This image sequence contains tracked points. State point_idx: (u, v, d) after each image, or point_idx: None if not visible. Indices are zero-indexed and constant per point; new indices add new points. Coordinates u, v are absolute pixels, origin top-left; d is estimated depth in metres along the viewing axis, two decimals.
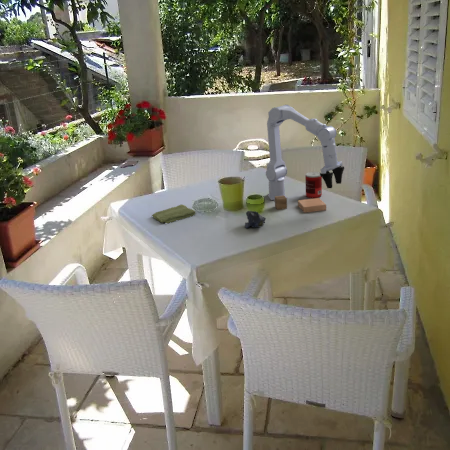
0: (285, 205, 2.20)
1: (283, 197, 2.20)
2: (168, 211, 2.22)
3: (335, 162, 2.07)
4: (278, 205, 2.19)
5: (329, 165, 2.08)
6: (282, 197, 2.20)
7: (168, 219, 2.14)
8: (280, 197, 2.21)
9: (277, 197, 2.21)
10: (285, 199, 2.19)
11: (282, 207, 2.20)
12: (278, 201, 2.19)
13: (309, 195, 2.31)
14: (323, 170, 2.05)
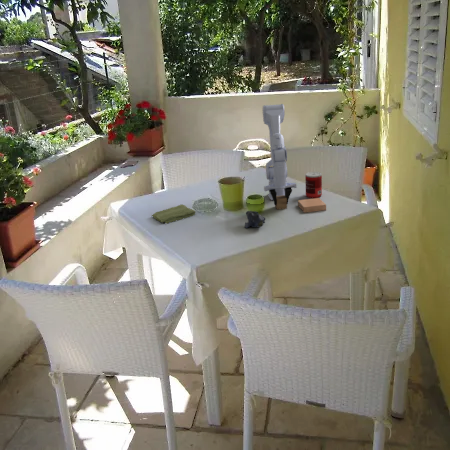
0: (285, 205, 2.20)
1: (283, 197, 2.20)
2: (168, 211, 2.22)
3: (279, 184, 2.15)
4: (278, 204, 2.19)
5: (274, 185, 2.17)
6: (282, 197, 2.20)
7: (168, 219, 2.14)
8: (280, 196, 2.21)
9: (277, 197, 2.21)
10: (285, 199, 2.19)
11: (282, 207, 2.20)
12: (278, 201, 2.19)
13: (309, 195, 2.31)
14: (264, 188, 2.18)
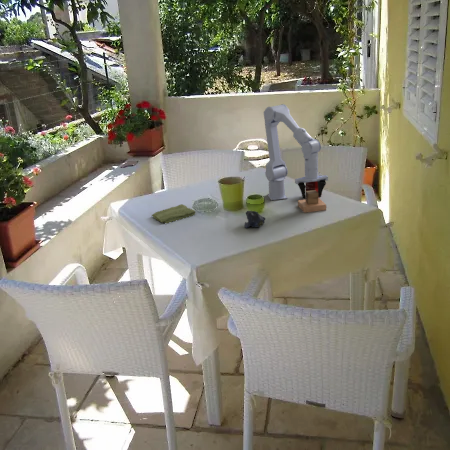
0: (316, 200, 2.15)
1: (314, 192, 2.16)
2: (168, 211, 2.22)
3: (311, 176, 2.11)
4: (309, 199, 2.15)
5: (306, 177, 2.13)
6: (313, 192, 2.15)
7: (168, 219, 2.14)
8: (311, 191, 2.17)
9: (308, 192, 2.16)
10: (317, 194, 2.14)
11: (313, 202, 2.16)
12: (309, 196, 2.14)
13: None
14: (295, 180, 2.13)
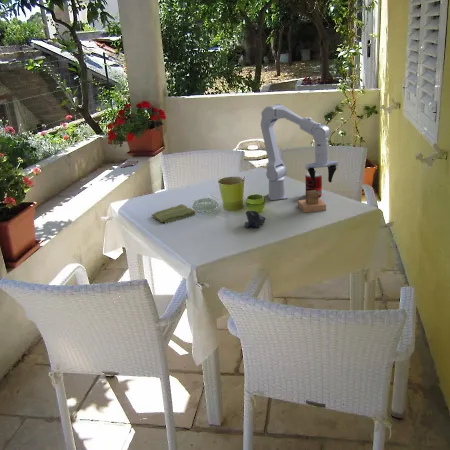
0: (316, 200, 2.15)
1: (314, 192, 2.16)
2: (168, 211, 2.22)
3: (321, 161, 2.14)
4: (309, 199, 2.15)
5: (316, 163, 2.15)
6: (313, 192, 2.15)
7: (168, 219, 2.14)
8: (311, 191, 2.17)
9: (308, 192, 2.16)
10: (317, 194, 2.14)
11: (313, 202, 2.16)
12: (309, 196, 2.14)
13: None
14: (306, 166, 2.16)
